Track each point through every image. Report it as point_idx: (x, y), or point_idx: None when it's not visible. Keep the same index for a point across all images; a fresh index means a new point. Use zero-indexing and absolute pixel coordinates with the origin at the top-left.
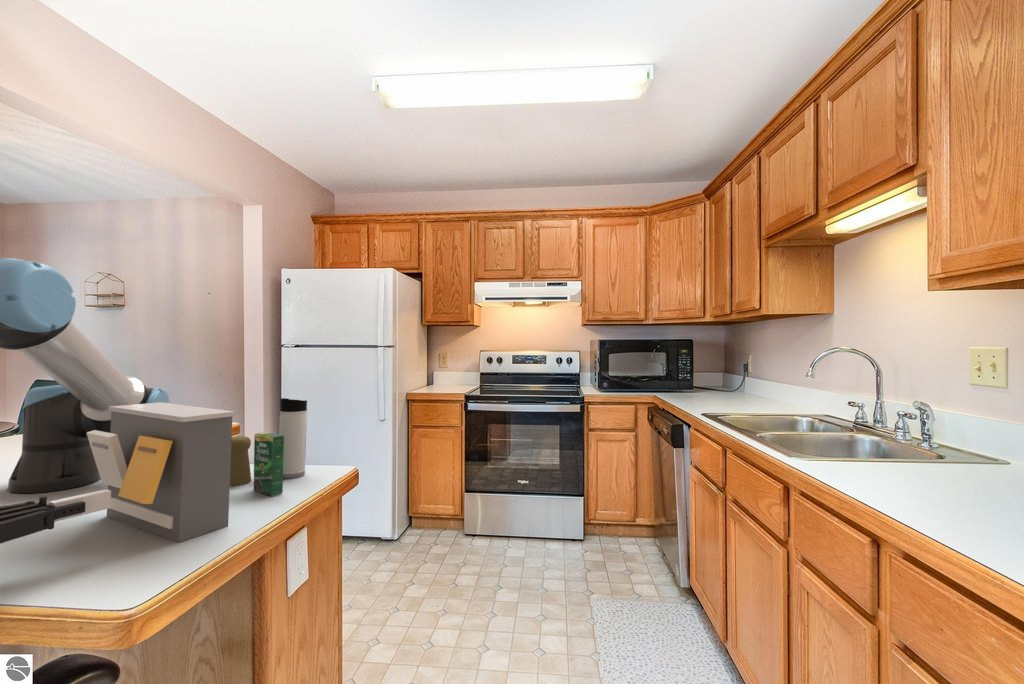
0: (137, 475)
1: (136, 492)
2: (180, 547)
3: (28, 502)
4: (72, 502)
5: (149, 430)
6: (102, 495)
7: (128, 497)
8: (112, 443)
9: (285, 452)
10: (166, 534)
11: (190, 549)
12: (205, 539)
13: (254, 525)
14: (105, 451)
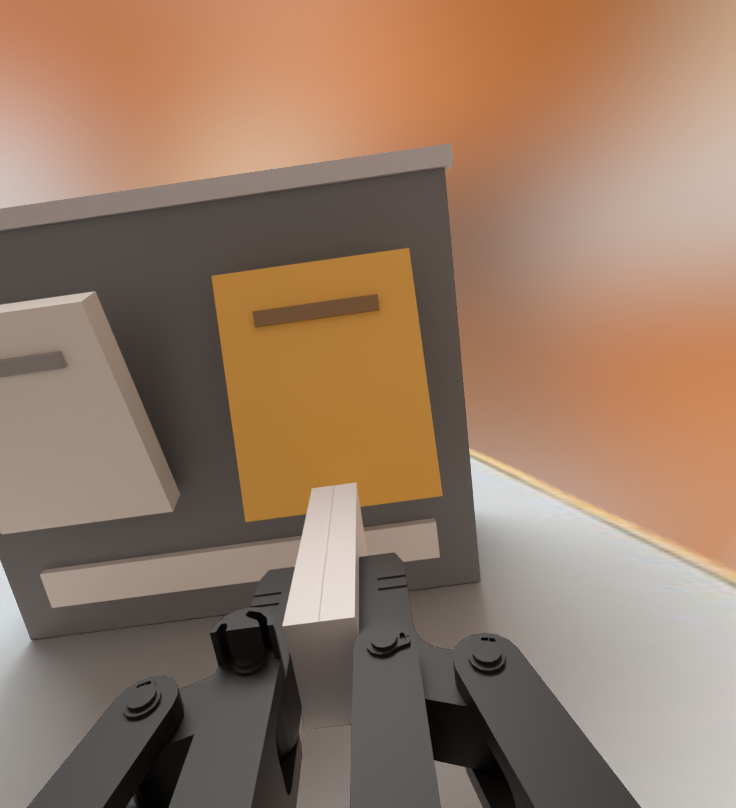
0: (320, 417)
1: (361, 474)
2: (522, 586)
3: (146, 703)
4: (358, 577)
5: (209, 263)
6: (358, 509)
7: None
8: (98, 332)
9: None
10: (406, 580)
11: (562, 577)
12: (507, 546)
13: (496, 487)
14: (42, 386)
